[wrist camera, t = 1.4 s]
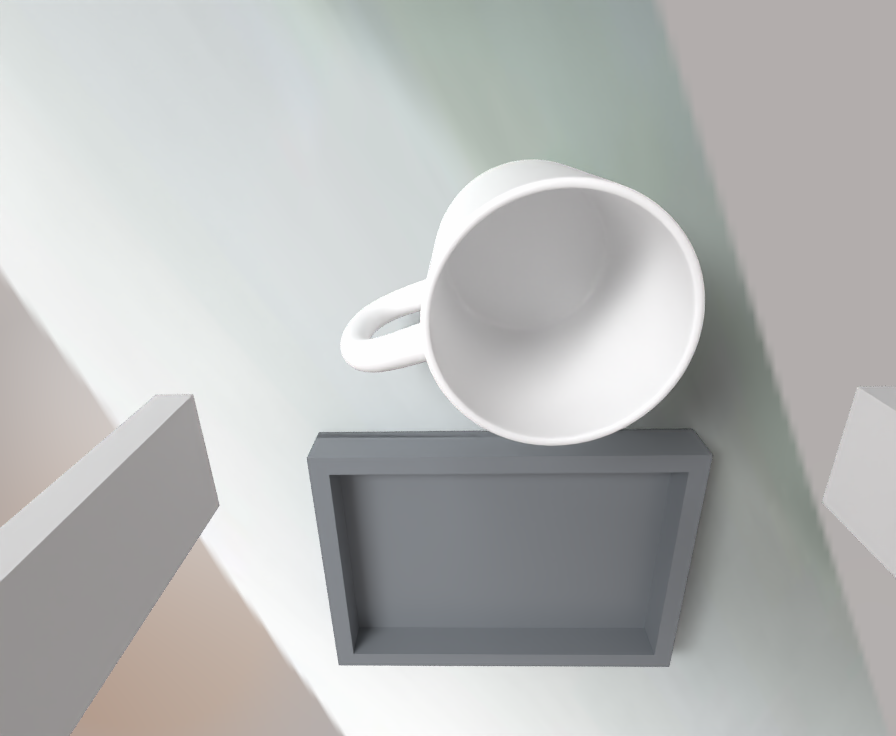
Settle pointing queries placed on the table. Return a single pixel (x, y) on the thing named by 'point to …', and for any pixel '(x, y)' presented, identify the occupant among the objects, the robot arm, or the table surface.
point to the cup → (546, 306)
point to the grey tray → (507, 546)
